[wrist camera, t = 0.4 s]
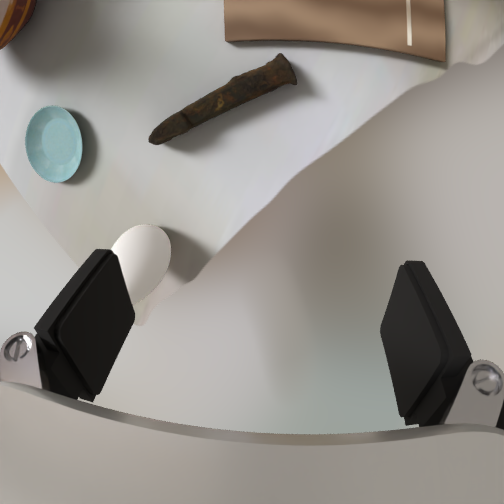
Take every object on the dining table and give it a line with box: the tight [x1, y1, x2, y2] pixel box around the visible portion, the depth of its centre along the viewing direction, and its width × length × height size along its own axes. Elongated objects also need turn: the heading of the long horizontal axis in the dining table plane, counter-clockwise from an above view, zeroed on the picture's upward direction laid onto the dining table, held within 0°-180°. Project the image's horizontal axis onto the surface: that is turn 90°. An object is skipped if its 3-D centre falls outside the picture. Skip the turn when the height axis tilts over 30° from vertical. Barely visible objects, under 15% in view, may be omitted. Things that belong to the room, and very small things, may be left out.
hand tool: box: [149, 53, 297, 145], centre depth 32 cm, size 19×4×5 cm, turn 115°
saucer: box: [25, 105, 83, 183], centre depth 37 cm, size 12×12×2 cm
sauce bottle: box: [111, 224, 171, 305], centre depth 37 cm, size 8×8×18 cm
